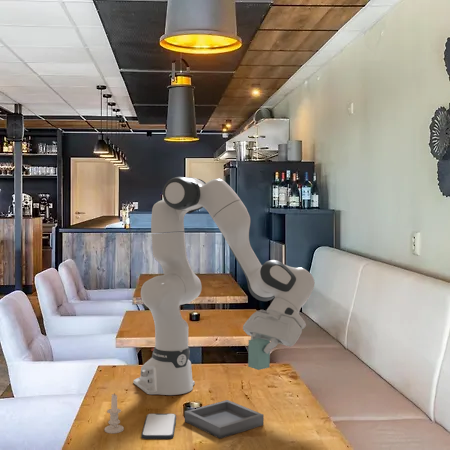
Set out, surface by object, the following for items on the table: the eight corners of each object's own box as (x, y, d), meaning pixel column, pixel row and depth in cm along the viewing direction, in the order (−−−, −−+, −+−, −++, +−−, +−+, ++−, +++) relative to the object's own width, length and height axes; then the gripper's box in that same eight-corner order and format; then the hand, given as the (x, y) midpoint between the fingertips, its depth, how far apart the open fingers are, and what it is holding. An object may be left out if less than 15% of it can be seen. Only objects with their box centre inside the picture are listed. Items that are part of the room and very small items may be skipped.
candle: (122, 425, 169) (122, 389, 169) (125, 432, 164) (125, 394, 164) (103, 427, 168) (103, 390, 167) (105, 434, 163) (105, 396, 162)
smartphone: (173, 441, 160) (176, 418, 176) (173, 435, 160) (176, 413, 176) (140, 441, 160) (146, 418, 176) (140, 435, 160) (146, 413, 176)
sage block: (248, 366, 180) (248, 340, 180) (259, 364, 183) (259, 338, 183) (258, 370, 177) (258, 343, 177) (269, 367, 180) (269, 340, 179)
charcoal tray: (184, 421, 173) (184, 411, 173) (227, 409, 183) (227, 399, 183) (219, 438, 161) (219, 427, 160) (263, 425, 171) (263, 414, 171)
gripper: (253, 302, 192) (229, 337, 186) (300, 312, 176) (276, 350, 170) (263, 314, 195) (240, 349, 189) (310, 325, 179) (286, 363, 173)
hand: (257, 350), depth 179 cm, fingers closed on sage block, 4 cm apart
